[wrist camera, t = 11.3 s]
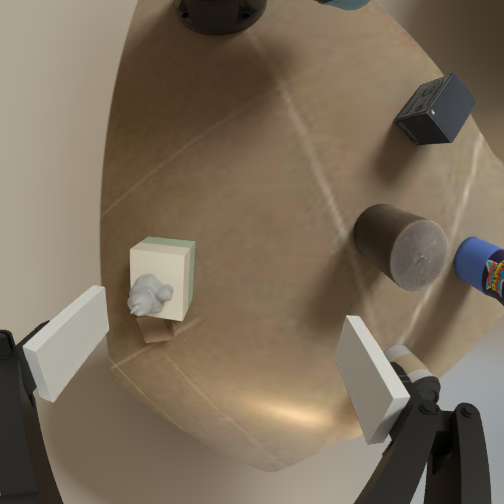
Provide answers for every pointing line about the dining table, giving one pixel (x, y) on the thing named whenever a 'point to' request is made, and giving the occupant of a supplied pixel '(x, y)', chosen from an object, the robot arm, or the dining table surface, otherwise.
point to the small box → (436, 111)
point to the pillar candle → (402, 245)
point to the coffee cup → (415, 371)
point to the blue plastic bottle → (481, 266)
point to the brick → (156, 328)
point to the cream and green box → (166, 271)
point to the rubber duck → (148, 295)
